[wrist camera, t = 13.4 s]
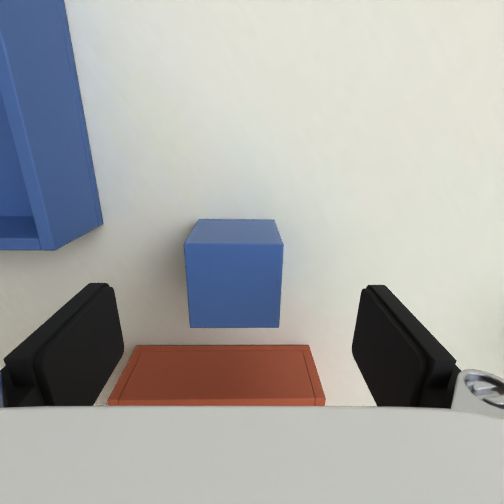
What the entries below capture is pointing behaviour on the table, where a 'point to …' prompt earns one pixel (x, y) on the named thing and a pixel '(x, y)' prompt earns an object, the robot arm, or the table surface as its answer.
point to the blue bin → (42, 132)
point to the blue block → (234, 273)
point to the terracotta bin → (219, 376)
